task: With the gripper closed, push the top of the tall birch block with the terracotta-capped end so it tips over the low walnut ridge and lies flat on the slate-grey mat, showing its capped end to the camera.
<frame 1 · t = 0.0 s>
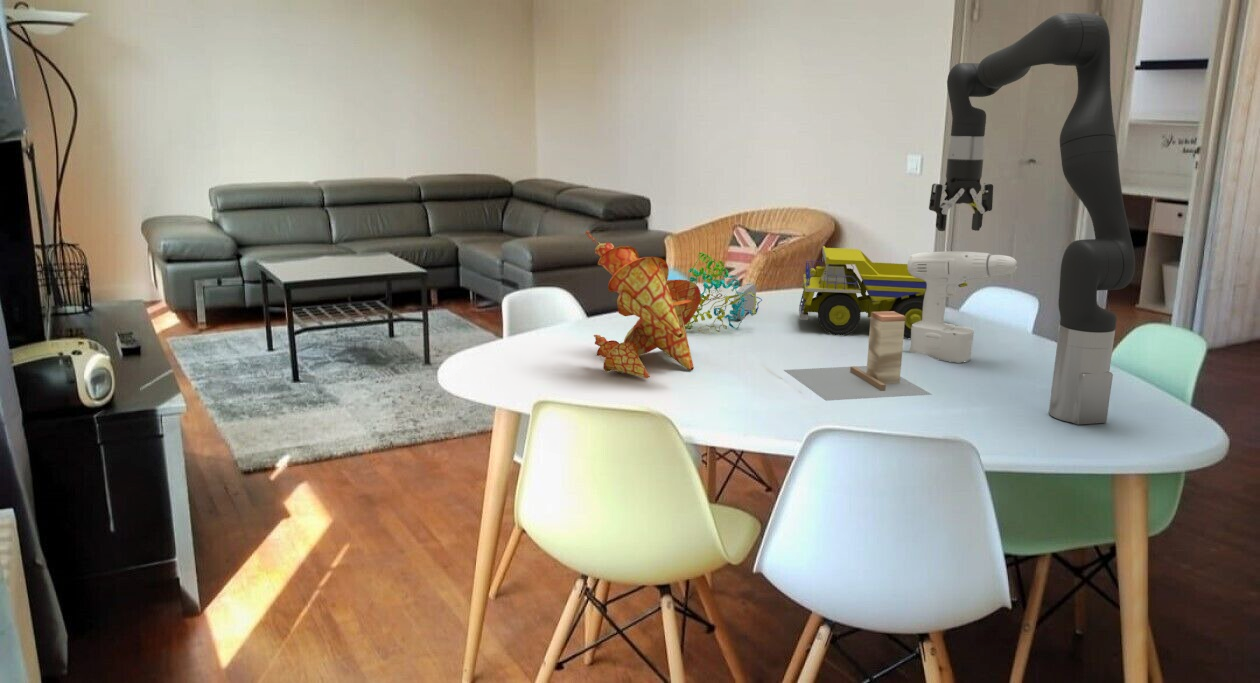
hand: (958, 230, 211), 29 cm above the table, tool pointing down, fingers open, 8 cm apart
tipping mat: (854, 386, 193), on the table
toy truck: (875, 329, 246), on the table
sculpture: (649, 365, 208), on the table
power drill: (951, 359, 216), on the table
birch block: (882, 380, 194), point 1 cm above the table, touching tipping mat
molecular model: (711, 329, 242), on the table
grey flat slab: (744, 316, 259), on the table
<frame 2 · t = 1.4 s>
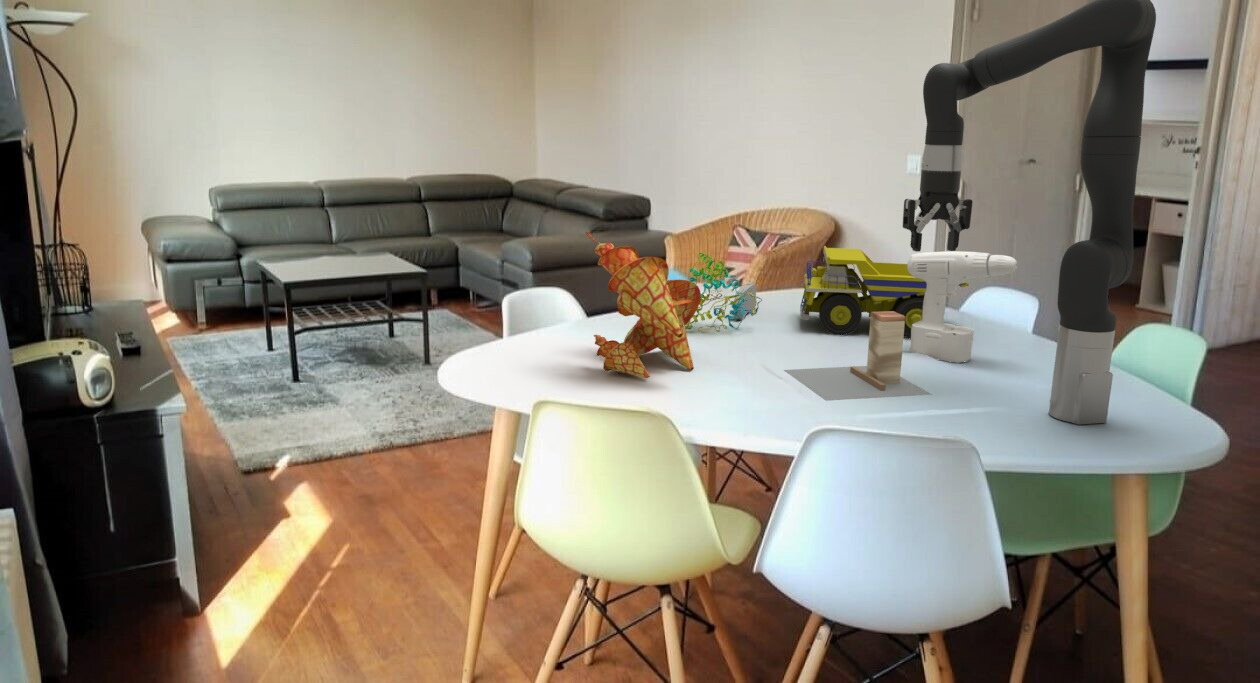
hand: (934, 250, 190), 28 cm above the table, tool pointing down, fingers open, 7 cm apart
nothing on the table moved.
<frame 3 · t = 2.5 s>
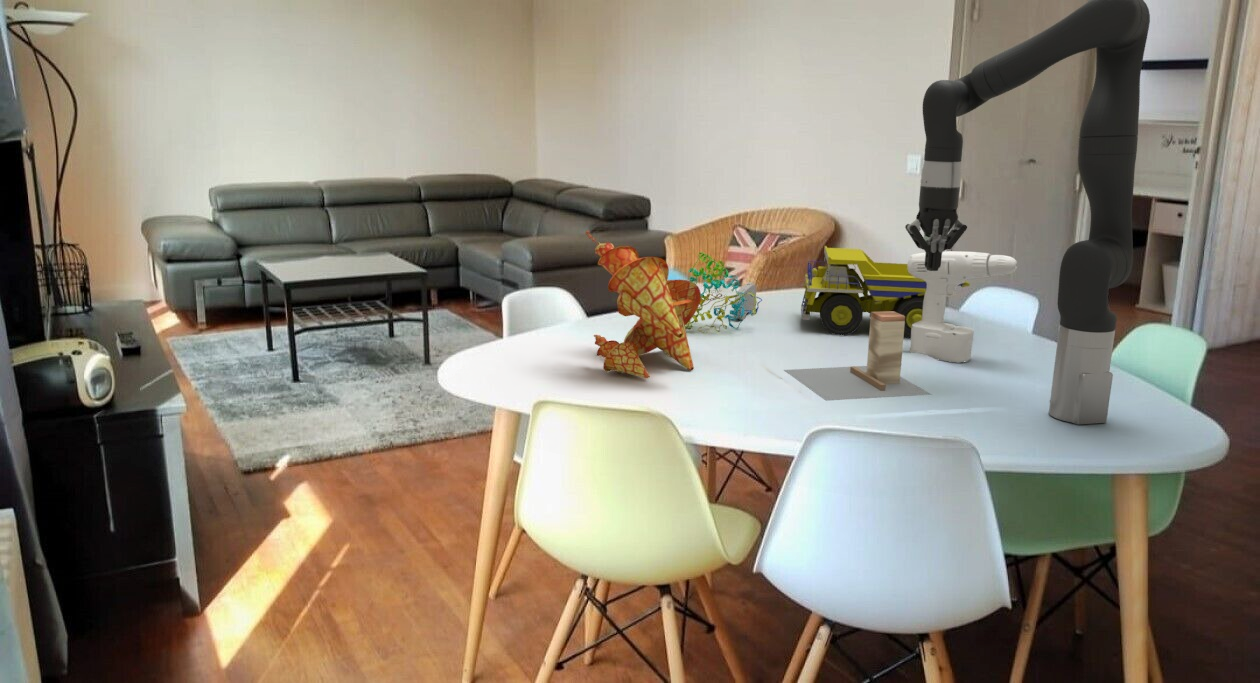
hand: (932, 270, 190), 24 cm above the table, tool pointing down, fingers closed
nothing on the table moved.
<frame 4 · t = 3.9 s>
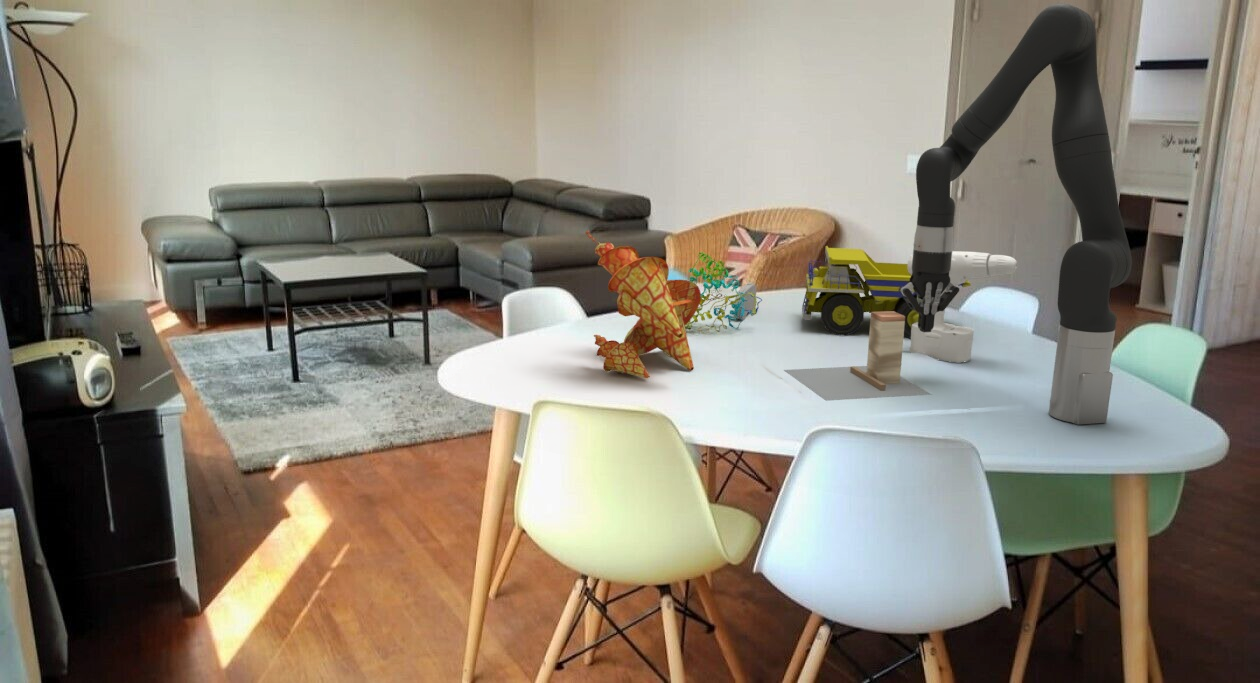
hand: (925, 331, 193), 11 cm above the table, tool pointing down, fingers closed
nothing on the table moved.
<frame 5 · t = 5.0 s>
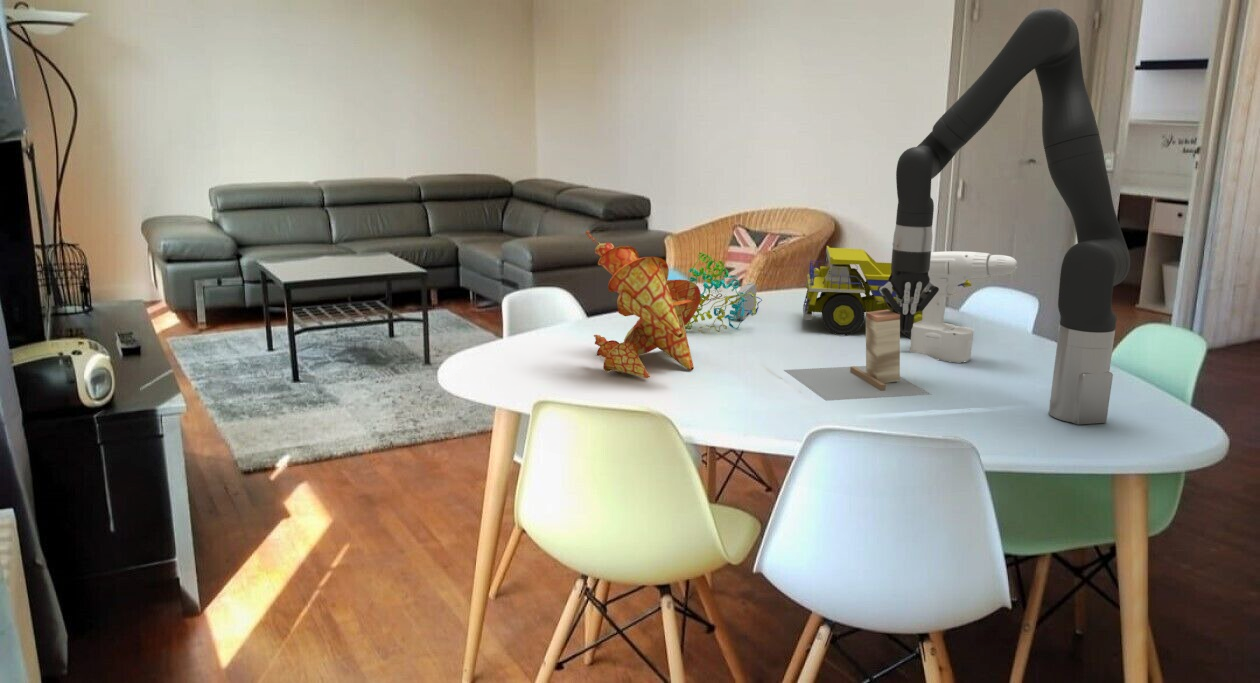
hand: (904, 331, 193), 11 cm above the table, tool pointing down, fingers closed
birch block: (882, 379, 194), point 1 cm above the table, touching gripper, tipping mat
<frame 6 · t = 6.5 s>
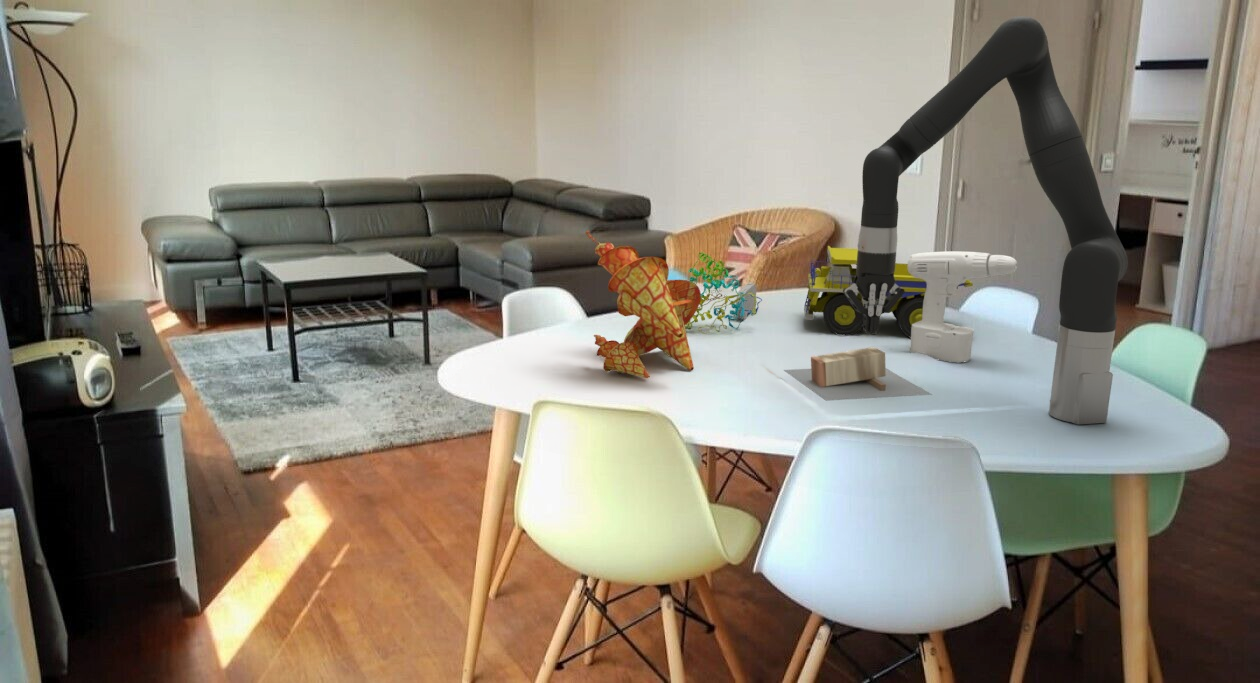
hand: (870, 333, 191), 11 cm above the table, tool pointing down, fingers closed
birch block: (879, 361, 193), point 5 cm above the table, tilted 96°, touching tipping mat
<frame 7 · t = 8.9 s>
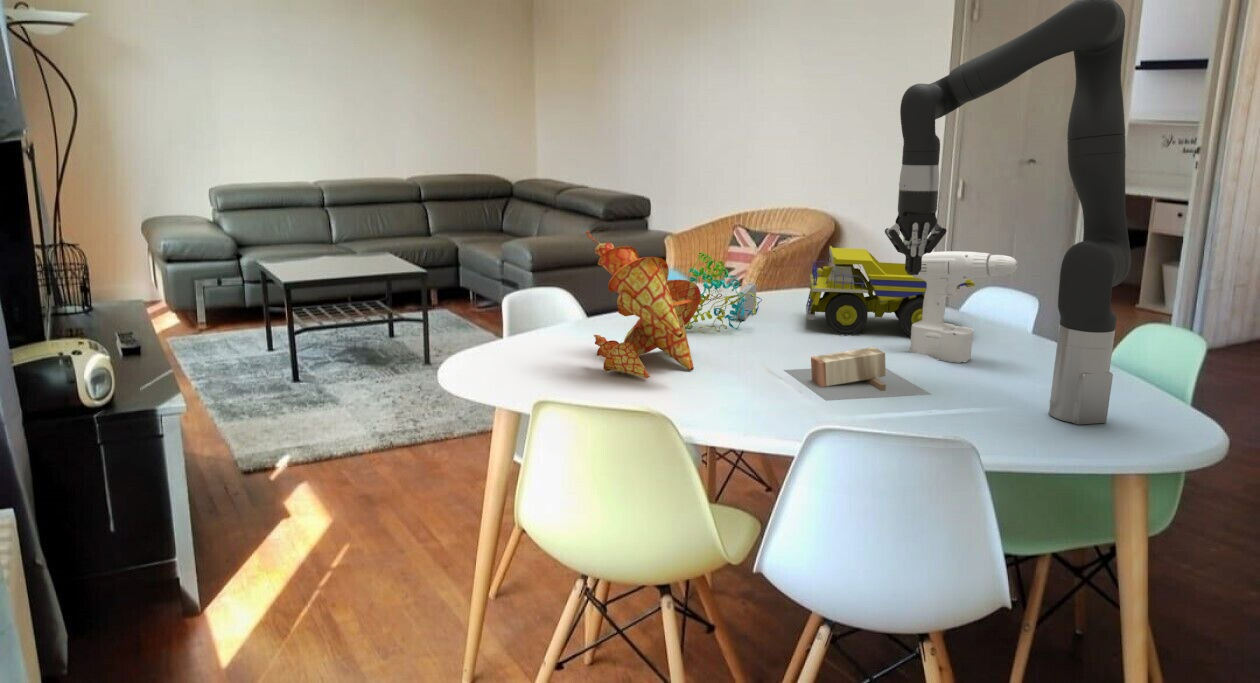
hand: (912, 274, 190), 23 cm above the table, tool pointing down, fingers closed
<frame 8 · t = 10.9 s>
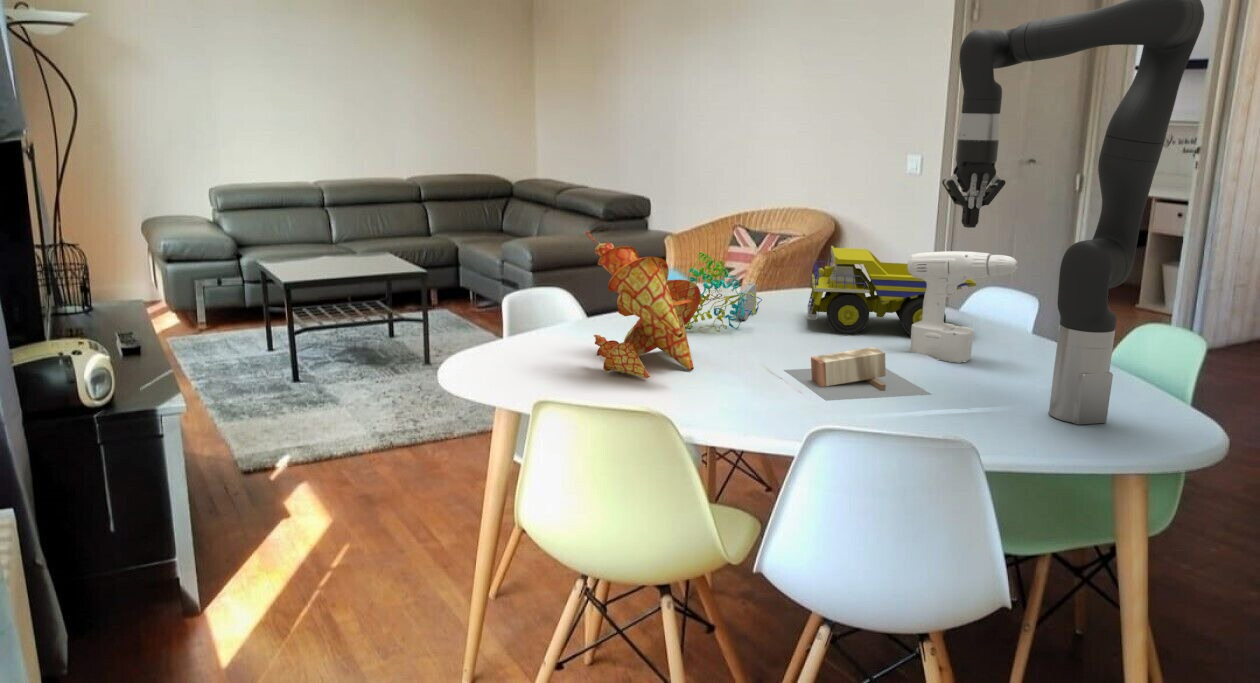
hand: (969, 227, 185), 33 cm above the table, tool pointing down, fingers closed
at the end: birch block tilted 96°; birch block inside the target area on the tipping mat (3.2 cm from its centre), point 5.1 cm above the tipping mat's base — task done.
